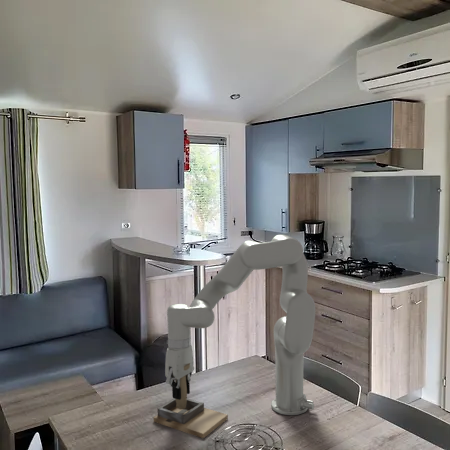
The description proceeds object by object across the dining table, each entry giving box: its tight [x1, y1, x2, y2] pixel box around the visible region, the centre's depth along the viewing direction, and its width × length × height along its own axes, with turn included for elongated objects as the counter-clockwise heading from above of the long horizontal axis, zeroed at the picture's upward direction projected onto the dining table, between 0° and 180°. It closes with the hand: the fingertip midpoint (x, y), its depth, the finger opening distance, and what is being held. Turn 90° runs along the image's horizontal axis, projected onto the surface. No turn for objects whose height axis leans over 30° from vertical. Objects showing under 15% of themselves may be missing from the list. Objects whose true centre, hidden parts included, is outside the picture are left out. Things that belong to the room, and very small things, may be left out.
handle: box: [175, 363, 190, 409], centre depth 156 cm, size 5×6×15 cm
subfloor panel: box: [152, 397, 229, 439], centre depth 154 cm, size 20×14×4 cm
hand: (181, 395), depth 156 cm, fingers closed on handle, 3 cm apart
